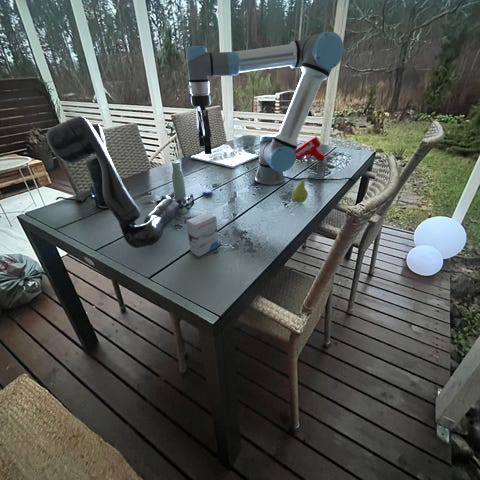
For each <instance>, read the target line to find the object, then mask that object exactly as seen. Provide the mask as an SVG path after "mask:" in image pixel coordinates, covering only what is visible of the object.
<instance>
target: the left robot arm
mask: <svg viewBox="0 0 480 480" xmlns="http://www.w3.org/2000/svg"><path fill="white" fill-rule="evenodd" d="M46 141H47V144H48V146H49V148H50V149H51V151H52V152H53V153H54V155H56V156H57V158H59V159H60V160H62V161H63V162H65V163H69V164H74V163H78V162H80V161H82V160H84V159H85V161H84V164H85V167H86V170H87V173H88V177H89V180H90V182H91V184H90V190H91V193H89V194H88V195H86V196H85V197H84V199H79V198H69V197H64V196H58V197H56V198H55V201H58V200H59V199H62V200H65V201H76V202H81V203H84V202H86V201H87V199H88V198H90V199H91V200H94V202H95V206H96V207H98V208H99V209H109V211H110V212H111V213H112V215H113V216H114V217H115V219H116V220H117V222H118V224H119V227H120V230H121V233H122V235H123V238H124V240H125V242H126V243H127V244H128V245H129V246H130V247H132V248H134V249H139V248H145V247H149V246H153V245H155V244H157V243H159V242H160V240H161V238H162V235H163V233H164V229H166V227H167V226H168V225H169V224H171V223H172V222H173V220H174V219H175V218H176V217H177V216H178V215H179V214H180V213H179V211H180V209H182V208H183V207H184V208H187V210H188V211H189V210H191V209H192V207H193V206H195V198H194V194H193V193H190V194H188V195H187V196H186V198H184V197H183V198H180V199H175V196H174V191H171V192H169V193H168V194H166V195H165V196H164V195H160V196H159V197H158V198H157V199H156V200H155V207H154V208H153V209H152V211H151V212H150V213H148V214H147V216H146V217H145V218H144V221H143V223H142V224H138V225H137V223H136V221H137V220H138V219H139V218H140V217H141V215H142V212H141V210H140V208H139V207H138V205H137V203H136V202H135V200H134V199H133V197H132V195H131V194H130V193H129V191H128V190H127V188H126V186H125V184H124V182H123V181H122V178H121V176H120V174H119V172H118V170H117V168H116V166H115V163H114V162H113V160H112V158H111V156H110V155H109V152H108V149H107V145H106V139H105V134H104V132H103V129H102V127H101V125H100V124H98V123H90V122H89V120H88V119H86V117H84V116H81V115H78V116H74V117H72V118H70V119H68V120H65V121H62V122H60V123H58V124H56V125H54V126H52V127H50V128H48V130H47V131H46ZM182 200H183V203H182ZM186 200H187V202H186Z"/></svg>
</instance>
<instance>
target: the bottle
mask: <svg viewBox="0 0 480 480" xmlns="http://www.w3.org/2000/svg"><path fill="white" fill-rule="evenodd" d="M171 167H172V172H171V182H172V188H173V192H174V199H180V198H183V197H184V198H186V197H187V192H186V184H185V177H184V174H183V171H182V169H181V162H180V161H178V160H176V161H171ZM186 202H188V201H187V200H186ZM182 203H183V200H182ZM188 211H189V210H187V208H184V207H183V208H182V209H180V211H179V213H178V214H180V215H181V214H186V213H188Z"/></svg>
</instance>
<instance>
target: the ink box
mask: <svg viewBox="0 0 480 480" xmlns="http://www.w3.org/2000/svg"><path fill="white" fill-rule="evenodd" d="M185 222H186V227H187V235H188V243H189V244H188V245H189V251H190V252H191V253H193V254H194V255H195V256H197V257H198V258H200V257H201V256H203V255H205V254H207V253H209V252H211V251H213V250H214V249H216V248H219V238H218V237H219V236H218V224H217V222H218V221H217V216H216V215H214V214H213V213H210V212H208V211H206V212H204V213H202V214H198V215H196V216H194V217H191V218H188V219H186V221H185Z"/></svg>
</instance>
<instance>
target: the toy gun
mask: <svg viewBox="0 0 480 480" xmlns="http://www.w3.org/2000/svg"><path fill="white" fill-rule="evenodd" d="M319 147H321V140H320V139H319V138H318V137H317V136H316V135H315V136H313V137H312V138H310V139H309V140H307V141H306V142H304V143H303V144H301V145H300V146H298V147H297V149H296V151H295V154H296V159H299V160H300V159H302V158H303V157H306V158H307V159H309V158H311V157H314V159H316V160H317V163H318V164H320V163H321V162H323V161H324V159H325V157H326V155H325V154H324V153H323V152H322V151H320V150H319V149H318V148H319ZM318 160H319V161H321V162H318ZM297 161H298V160H295V162H297Z"/></svg>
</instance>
